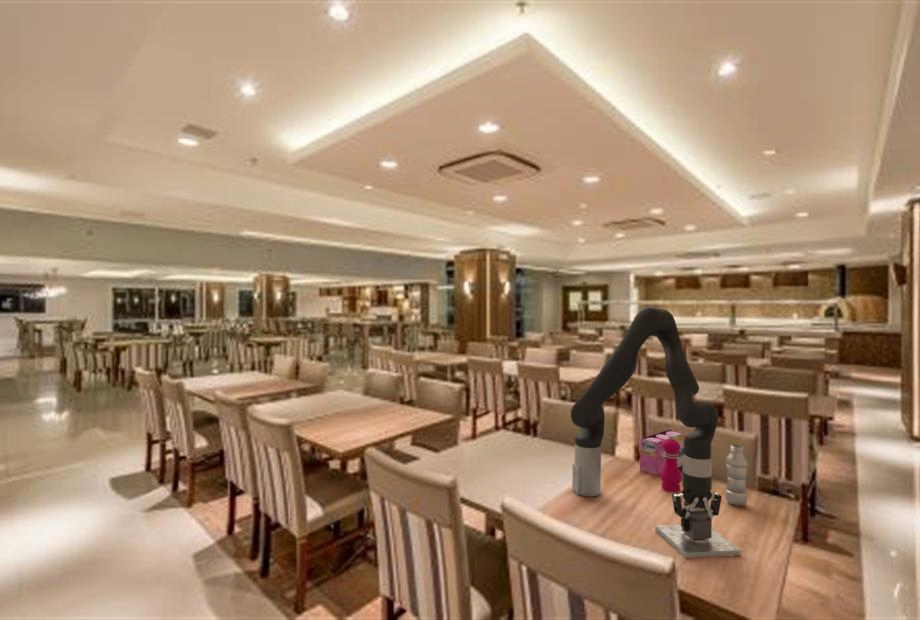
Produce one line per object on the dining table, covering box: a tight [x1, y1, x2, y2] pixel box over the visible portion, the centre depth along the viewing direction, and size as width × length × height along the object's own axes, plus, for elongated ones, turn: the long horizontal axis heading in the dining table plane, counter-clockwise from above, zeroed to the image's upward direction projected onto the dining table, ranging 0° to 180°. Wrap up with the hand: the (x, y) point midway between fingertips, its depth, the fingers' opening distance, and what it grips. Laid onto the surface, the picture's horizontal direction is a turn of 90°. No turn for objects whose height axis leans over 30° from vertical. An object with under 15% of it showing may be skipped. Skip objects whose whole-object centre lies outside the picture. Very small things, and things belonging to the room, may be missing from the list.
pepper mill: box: [659, 435, 683, 493], centre depth 177 cm, size 7×7×20 cm
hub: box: [654, 523, 742, 559], centre depth 138 cm, size 16×16×6 cm
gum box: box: [639, 429, 686, 476], centre depth 201 cm, size 24×8×14 cm, turn 128°
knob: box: [681, 505, 713, 539], centre depth 137 cm, size 6×6×7 cm
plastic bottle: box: [724, 444, 748, 507], centre depth 164 cm, size 6×7×20 cm
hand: (696, 529), depth 138 cm, fingers closed on knob, 5 cm apart
